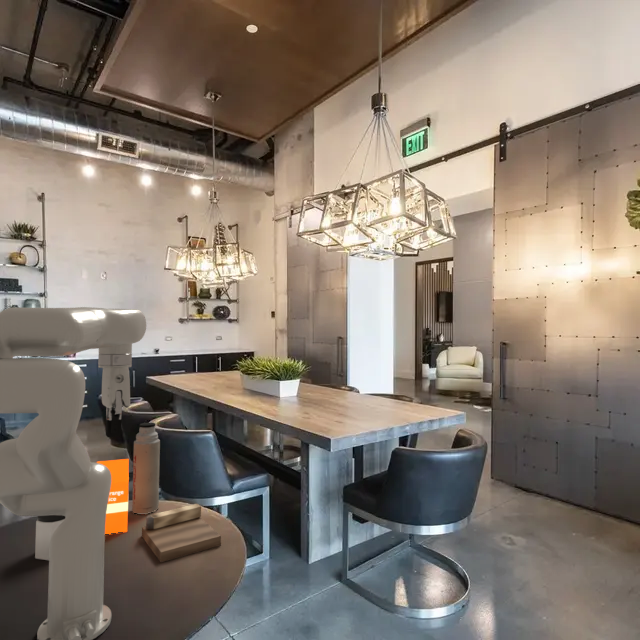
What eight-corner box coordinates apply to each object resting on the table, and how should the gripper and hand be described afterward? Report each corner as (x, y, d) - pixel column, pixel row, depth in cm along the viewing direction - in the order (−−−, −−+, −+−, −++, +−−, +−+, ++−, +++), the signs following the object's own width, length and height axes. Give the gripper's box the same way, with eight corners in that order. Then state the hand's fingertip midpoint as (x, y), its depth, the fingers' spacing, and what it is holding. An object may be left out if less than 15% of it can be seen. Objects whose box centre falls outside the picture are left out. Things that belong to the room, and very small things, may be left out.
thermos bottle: (130, 516, 140) (133, 426, 141) (133, 506, 148) (135, 421, 149) (157, 513, 142) (159, 425, 143) (159, 504, 150) (160, 420, 151)
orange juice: (95, 526, 133) (97, 458, 133) (127, 521, 136) (129, 455, 137) (93, 537, 125) (95, 465, 126) (127, 532, 129) (129, 462, 130)
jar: (42, 547, 119) (43, 501, 120) (75, 543, 122) (77, 498, 122) (31, 563, 111) (32, 514, 111) (67, 558, 113) (69, 510, 114)
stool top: (220, 545, 121) (220, 535, 121) (160, 562, 112) (161, 552, 112) (196, 522, 136) (196, 514, 136) (141, 536, 126) (142, 527, 126)
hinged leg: (148, 530, 123) (148, 519, 123) (144, 527, 126) (144, 516, 126) (200, 516, 133) (201, 506, 133) (196, 513, 135) (196, 503, 136)
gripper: (138, 362, 106) (137, 439, 106) (124, 359, 119) (122, 429, 118) (104, 363, 102) (102, 444, 101) (93, 360, 114) (91, 432, 113)
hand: (113, 435), depth 110 cm, fingers closed
